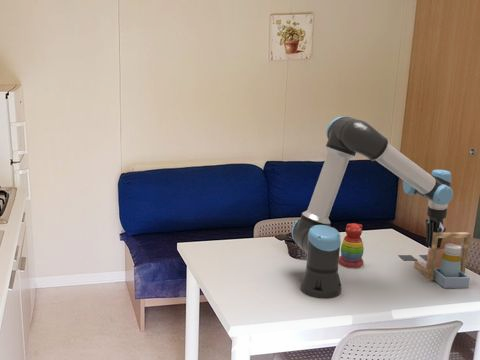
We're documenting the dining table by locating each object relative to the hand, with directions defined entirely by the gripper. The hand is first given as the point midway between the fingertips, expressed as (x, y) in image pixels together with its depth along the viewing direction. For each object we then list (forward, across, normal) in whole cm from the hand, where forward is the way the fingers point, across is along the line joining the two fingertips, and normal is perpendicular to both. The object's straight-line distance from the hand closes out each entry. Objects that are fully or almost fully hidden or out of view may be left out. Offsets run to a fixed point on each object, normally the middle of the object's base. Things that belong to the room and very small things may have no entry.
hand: (430, 261), depth 230 cm
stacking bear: (+3, +6, +33) cm, 33 cm away
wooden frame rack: (+3, -7, 0) cm, 8 cm away
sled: (+2, -12, 0) cm, 12 cm away
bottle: (+3, -15, 0) cm, 15 cm away
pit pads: (+3, +11, 0) cm, 12 cm away
